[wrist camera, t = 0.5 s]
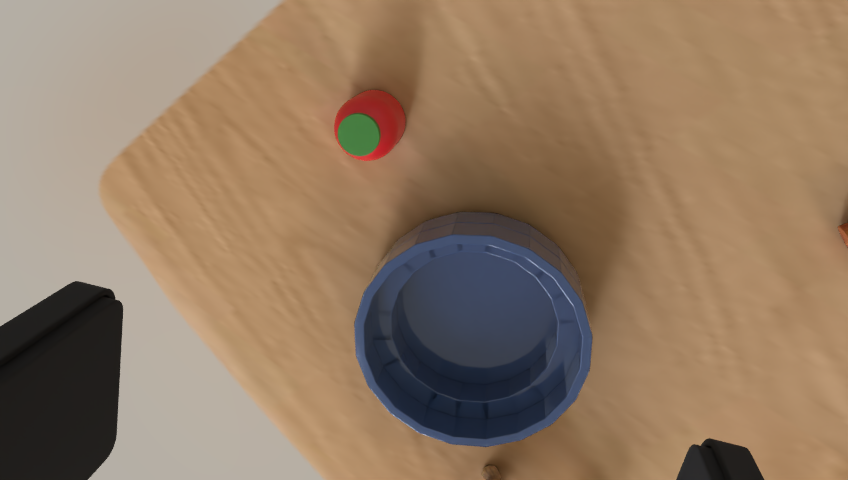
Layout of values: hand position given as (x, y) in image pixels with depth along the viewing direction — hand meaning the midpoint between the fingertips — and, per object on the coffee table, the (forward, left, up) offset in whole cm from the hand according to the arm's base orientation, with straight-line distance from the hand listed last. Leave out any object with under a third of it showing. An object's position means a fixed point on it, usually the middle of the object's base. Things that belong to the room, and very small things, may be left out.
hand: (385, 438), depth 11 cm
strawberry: (+3, -6, -33) cm, 33 cm away
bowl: (+13, +4, -33) cm, 35 cm away
